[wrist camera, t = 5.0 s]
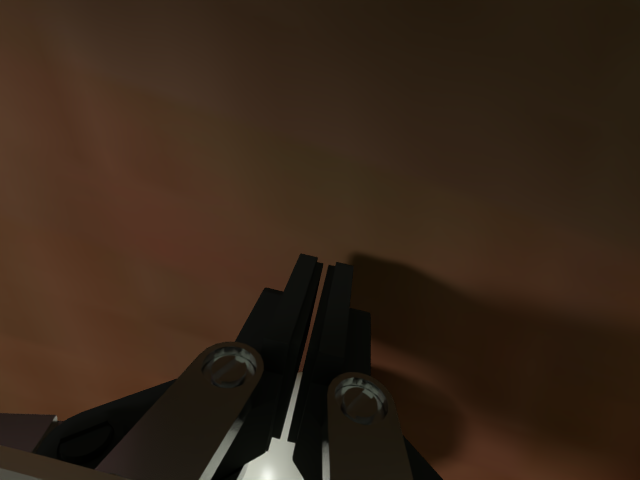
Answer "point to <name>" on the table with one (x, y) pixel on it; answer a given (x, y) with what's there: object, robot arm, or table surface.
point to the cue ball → (277, 452)
